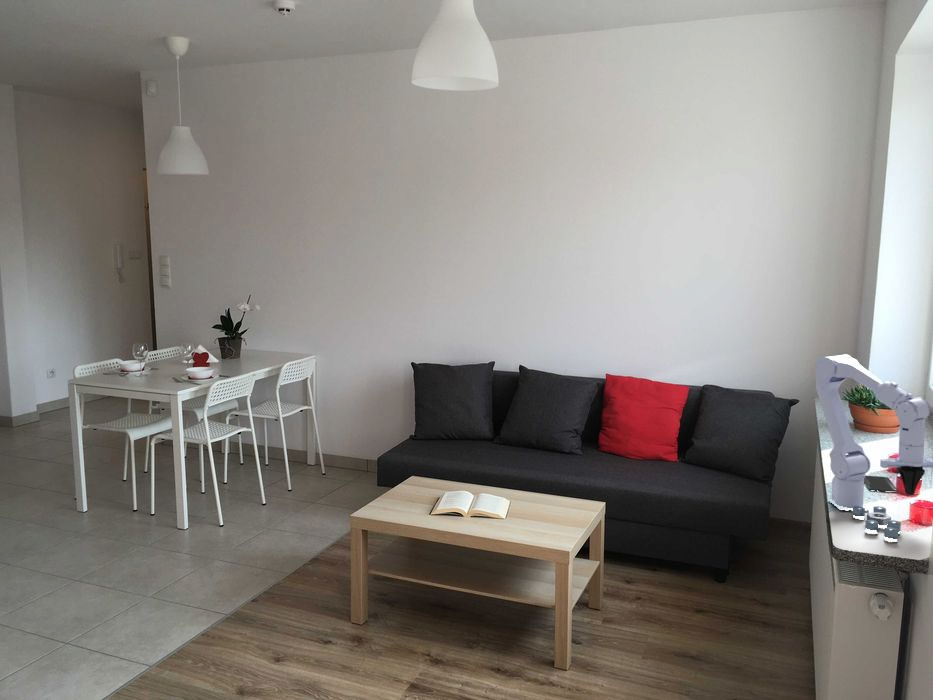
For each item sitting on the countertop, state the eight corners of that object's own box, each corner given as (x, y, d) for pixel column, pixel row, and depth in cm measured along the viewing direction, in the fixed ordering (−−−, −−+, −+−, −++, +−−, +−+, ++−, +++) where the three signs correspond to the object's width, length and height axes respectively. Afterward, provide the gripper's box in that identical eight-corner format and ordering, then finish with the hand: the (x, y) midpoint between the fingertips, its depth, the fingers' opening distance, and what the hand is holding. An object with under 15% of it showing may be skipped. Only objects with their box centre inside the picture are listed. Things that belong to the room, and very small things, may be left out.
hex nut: (864, 522, 207) (864, 511, 207) (883, 522, 206) (884, 511, 206) (873, 530, 201) (873, 518, 201) (893, 530, 201) (893, 519, 200)
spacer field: (846, 516, 211) (847, 506, 211) (882, 516, 210) (883, 506, 210) (876, 542, 192) (877, 531, 192) (916, 543, 191) (917, 531, 191)
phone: (887, 476, 244) (898, 490, 230) (887, 480, 245) (897, 494, 230) (860, 475, 247) (869, 488, 233) (860, 478, 247) (868, 492, 233)
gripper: (889, 447, 197) (887, 498, 199) (948, 447, 196) (946, 498, 197) (877, 441, 204) (875, 490, 206) (934, 441, 203) (932, 490, 204)
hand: (909, 493), depth 202 cm, fingers closed
